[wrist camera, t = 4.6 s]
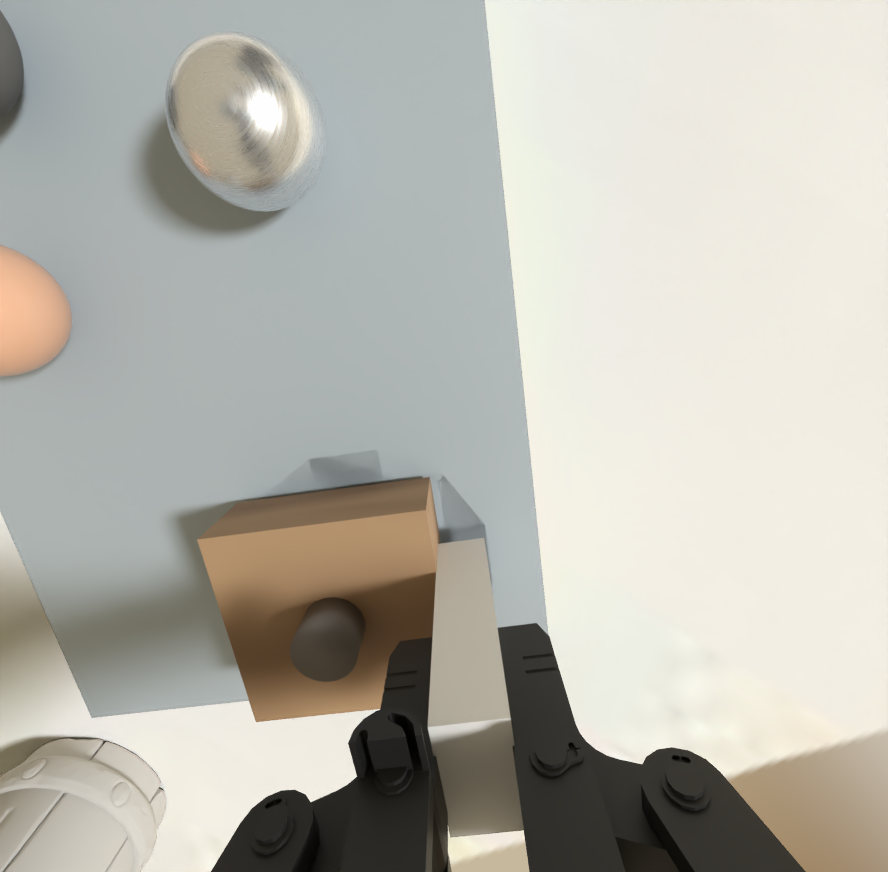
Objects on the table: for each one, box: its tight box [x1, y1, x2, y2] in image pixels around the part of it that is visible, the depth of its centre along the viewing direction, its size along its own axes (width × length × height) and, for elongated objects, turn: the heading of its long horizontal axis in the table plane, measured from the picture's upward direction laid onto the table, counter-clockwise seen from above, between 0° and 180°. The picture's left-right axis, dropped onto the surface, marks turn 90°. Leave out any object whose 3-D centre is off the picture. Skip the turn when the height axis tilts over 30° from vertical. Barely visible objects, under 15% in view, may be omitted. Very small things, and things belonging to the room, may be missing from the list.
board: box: [0, 0, 548, 718], centre depth 15 cm, size 24×18×2 cm
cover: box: [197, 477, 441, 722], centre depth 14 cm, size 6×6×4 cm
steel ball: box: [165, 31, 327, 212], centre depth 11 cm, size 4×4×4 cm
